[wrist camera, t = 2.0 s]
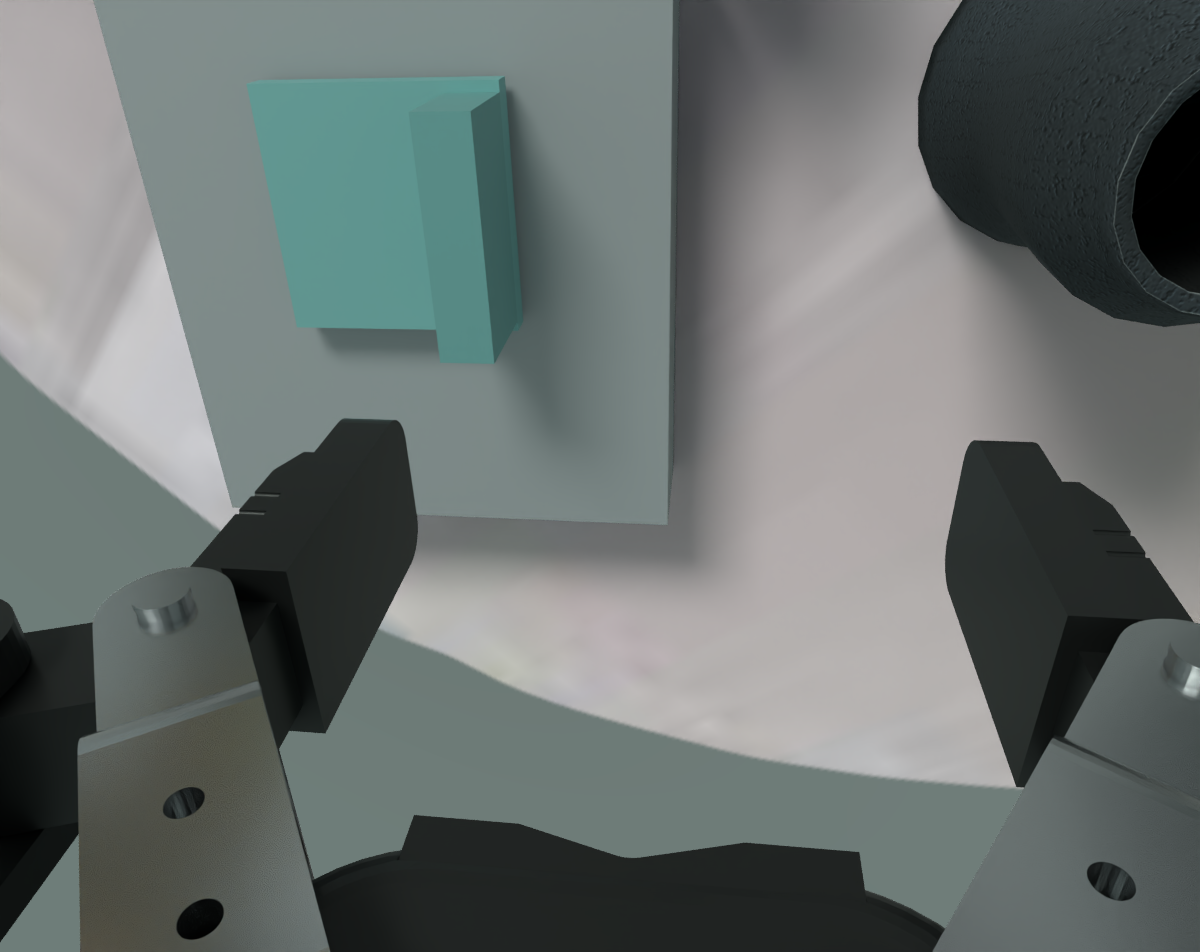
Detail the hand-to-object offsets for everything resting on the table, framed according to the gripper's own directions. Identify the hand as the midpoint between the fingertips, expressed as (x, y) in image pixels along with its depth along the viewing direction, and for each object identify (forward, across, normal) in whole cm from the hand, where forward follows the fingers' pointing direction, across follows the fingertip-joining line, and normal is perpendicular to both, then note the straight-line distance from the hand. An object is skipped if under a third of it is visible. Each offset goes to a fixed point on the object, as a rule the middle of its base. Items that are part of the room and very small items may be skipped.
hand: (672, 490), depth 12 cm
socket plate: (+20, +9, +2) cm, 22 cm away
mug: (+20, -12, -3) cm, 24 cm away
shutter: (+16, +9, 0) cm, 18 cm away
